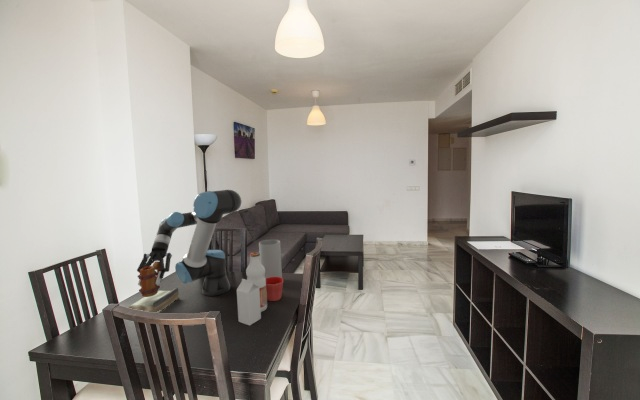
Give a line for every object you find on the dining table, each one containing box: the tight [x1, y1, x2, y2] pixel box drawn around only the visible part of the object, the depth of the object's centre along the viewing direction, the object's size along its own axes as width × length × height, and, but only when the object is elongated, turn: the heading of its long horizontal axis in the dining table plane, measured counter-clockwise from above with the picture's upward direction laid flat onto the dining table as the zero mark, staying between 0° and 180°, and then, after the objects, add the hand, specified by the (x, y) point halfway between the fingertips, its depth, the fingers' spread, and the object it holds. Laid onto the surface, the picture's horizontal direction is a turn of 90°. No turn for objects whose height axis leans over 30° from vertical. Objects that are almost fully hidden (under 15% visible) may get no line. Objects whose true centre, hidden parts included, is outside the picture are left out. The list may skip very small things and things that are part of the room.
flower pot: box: [266, 277, 284, 302], centre depth 154 cm, size 11×11×10 cm
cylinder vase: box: [258, 239, 283, 279], centre depth 173 cm, size 12×12×25 cm
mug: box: [137, 261, 163, 298], centre depth 148 cm, size 15×8×15 cm, turn 169°
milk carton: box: [236, 278, 262, 326], centre depth 131 cm, size 7×7×19 cm
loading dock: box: [128, 287, 180, 312], centre depth 149 cm, size 14×18×6 cm
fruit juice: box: [245, 251, 268, 313], centre depth 141 cm, size 9×9×28 cm
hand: (148, 284), depth 144 cm, fingers closed on mug, 8 cm apart
